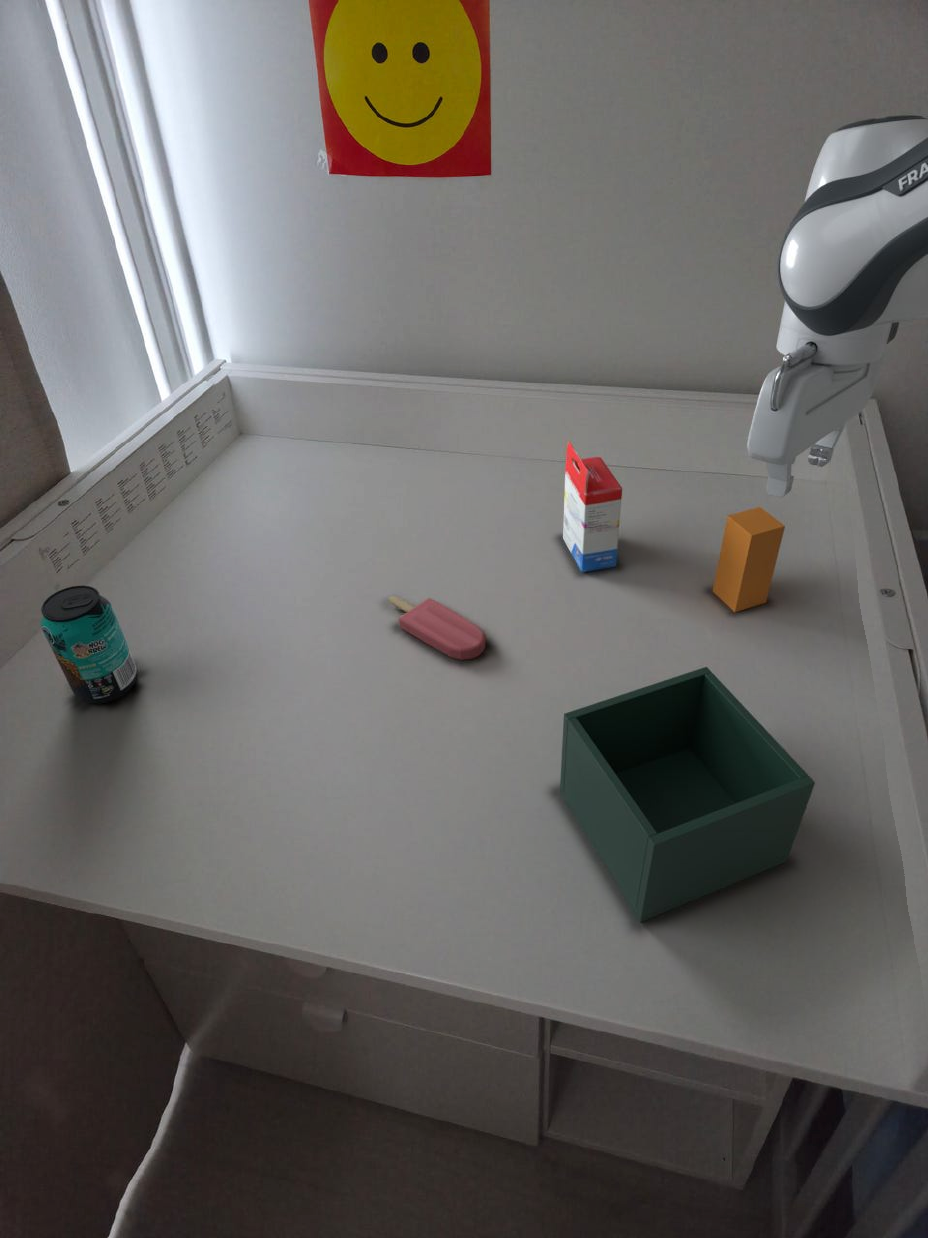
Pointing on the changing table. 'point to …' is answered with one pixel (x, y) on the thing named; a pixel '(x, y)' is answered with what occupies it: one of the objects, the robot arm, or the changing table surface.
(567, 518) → the ink box
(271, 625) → the changing table surface
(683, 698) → the open green box
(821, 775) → the changing table surface
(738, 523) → the orange rectangular prism
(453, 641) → the popsicle
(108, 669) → the beverage can
